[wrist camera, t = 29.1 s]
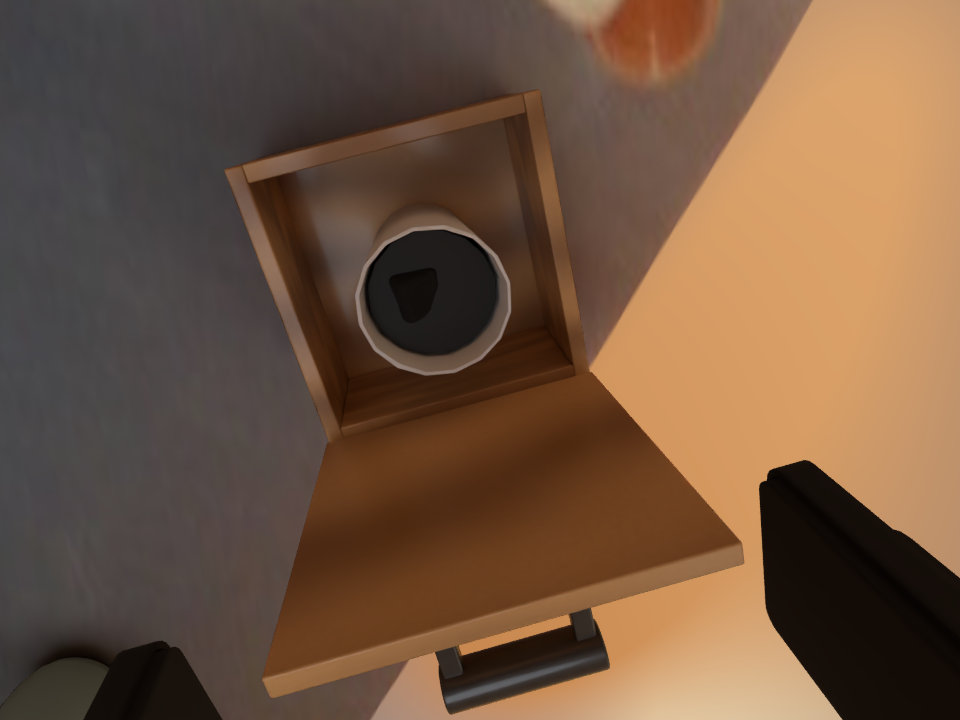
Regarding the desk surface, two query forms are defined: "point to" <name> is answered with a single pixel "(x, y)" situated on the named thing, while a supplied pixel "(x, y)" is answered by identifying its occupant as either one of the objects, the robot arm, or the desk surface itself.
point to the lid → (488, 543)
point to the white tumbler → (431, 292)
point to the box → (353, 228)
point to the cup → (56, 691)
